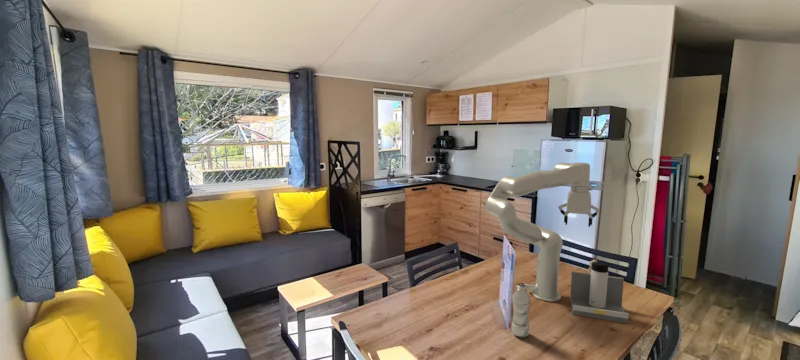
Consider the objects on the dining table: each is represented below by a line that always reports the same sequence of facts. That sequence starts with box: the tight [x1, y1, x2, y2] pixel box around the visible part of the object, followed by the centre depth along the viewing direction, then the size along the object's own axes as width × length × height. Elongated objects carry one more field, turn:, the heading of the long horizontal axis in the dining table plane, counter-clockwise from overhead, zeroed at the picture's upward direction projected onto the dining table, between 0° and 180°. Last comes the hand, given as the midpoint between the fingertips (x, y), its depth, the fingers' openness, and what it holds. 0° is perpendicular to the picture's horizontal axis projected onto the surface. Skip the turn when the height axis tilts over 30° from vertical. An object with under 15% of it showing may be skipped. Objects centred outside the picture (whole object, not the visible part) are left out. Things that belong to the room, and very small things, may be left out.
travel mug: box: [589, 261, 609, 309], centre depth 147 cm, size 6×7×20 cm
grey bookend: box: [569, 271, 629, 324], centre depth 148 cm, size 20×13×14 cm, turn 68°
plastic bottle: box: [511, 282, 531, 338], centre depth 131 cm, size 6×7×20 cm
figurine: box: [586, 258, 600, 274], centre depth 178 cm, size 7×7×12 cm
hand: (577, 225), depth 163 cm, fingers open, 9 cm apart
